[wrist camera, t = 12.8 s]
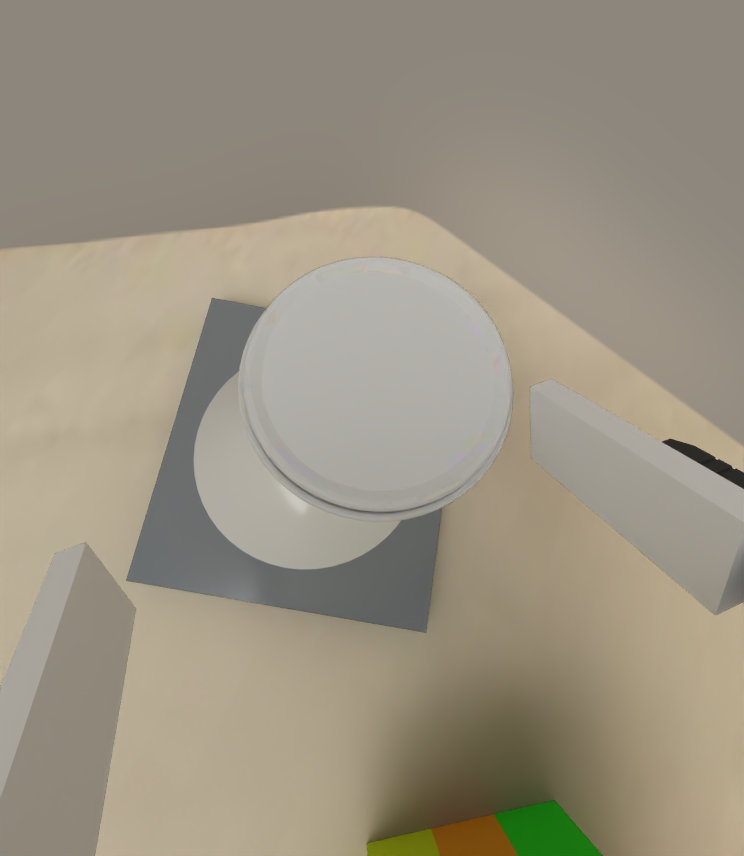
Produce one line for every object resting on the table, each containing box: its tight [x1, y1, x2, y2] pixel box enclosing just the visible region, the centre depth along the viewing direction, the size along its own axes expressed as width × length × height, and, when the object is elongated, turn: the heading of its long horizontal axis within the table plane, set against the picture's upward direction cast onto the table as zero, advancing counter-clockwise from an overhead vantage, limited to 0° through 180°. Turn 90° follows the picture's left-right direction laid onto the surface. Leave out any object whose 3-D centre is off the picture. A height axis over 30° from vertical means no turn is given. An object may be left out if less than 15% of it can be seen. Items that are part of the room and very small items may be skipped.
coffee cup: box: [238, 257, 513, 522], centre depth 20 cm, size 9×9×12 cm
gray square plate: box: [126, 298, 442, 633], centre depth 27 cm, size 16×17×2 cm
